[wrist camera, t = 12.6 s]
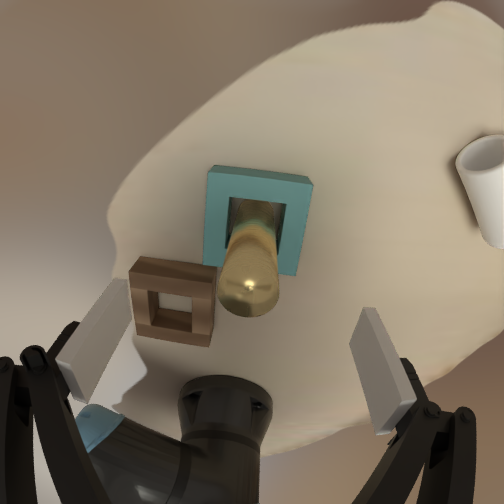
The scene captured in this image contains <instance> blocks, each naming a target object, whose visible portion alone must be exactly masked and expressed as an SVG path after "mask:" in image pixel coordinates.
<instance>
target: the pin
mask: <svg viewBox="0 0 504 504" xmlns="http://www.w3.org/2000/svg"><path fill="white" fill-rule="evenodd" d="M217 294H218V298H219V300H220V302H221V304H222V305H223V306H224V307H225V308H226V309H227V310H228V311H229V312H231V313H233V314H235V315H238V316H241V317H257V316H261V315H263V314H265V313H267V312H269V311H270V310H271V309H272V308H273V307H274V306H275V305H276V303H277V301H278V298H279V280H278V265H277V251H276V237H275V223H274V211H273V208H272V206H271V204H270V203H269V202H268V201H261V200H253V199H246V200H244V201H243V202H242V203H241V205H240V206H239V209H238V212H237V216H236V219H235V223H234V227H233V230H232V234H231V238H230V241H229V245H228V249H227V252H226V256H225V260H224V264H223V267H222V271H221V275H220V279H219V283H218V287H217Z"/></svg>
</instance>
